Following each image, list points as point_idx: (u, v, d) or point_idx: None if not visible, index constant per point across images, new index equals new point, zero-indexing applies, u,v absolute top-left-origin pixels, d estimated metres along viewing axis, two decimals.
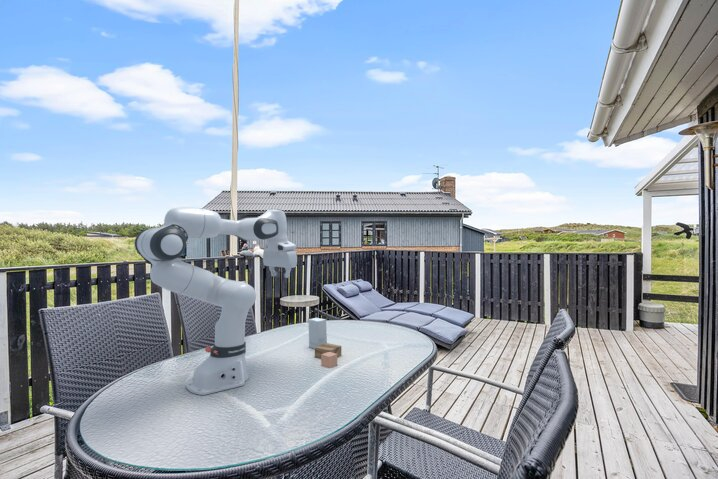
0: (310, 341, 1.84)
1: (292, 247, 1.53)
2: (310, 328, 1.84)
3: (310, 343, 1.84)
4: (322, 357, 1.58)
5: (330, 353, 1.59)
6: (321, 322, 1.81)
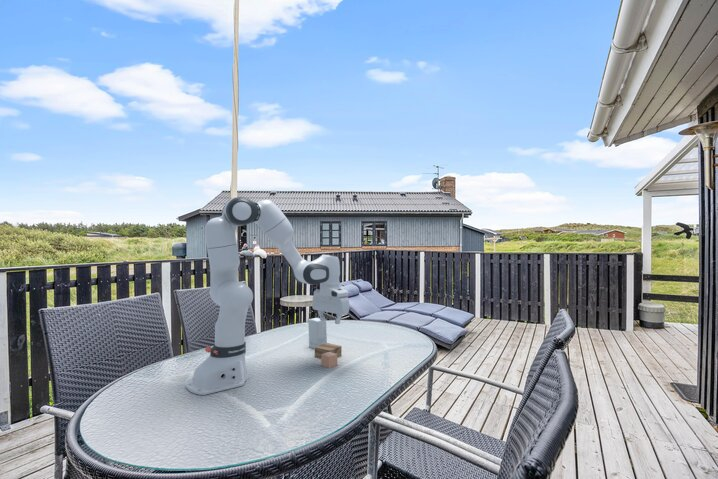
0: (310, 341, 1.84)
1: (345, 294, 1.54)
2: (310, 328, 1.84)
3: (310, 343, 1.84)
4: (322, 357, 1.58)
5: (330, 353, 1.59)
6: (321, 322, 1.81)
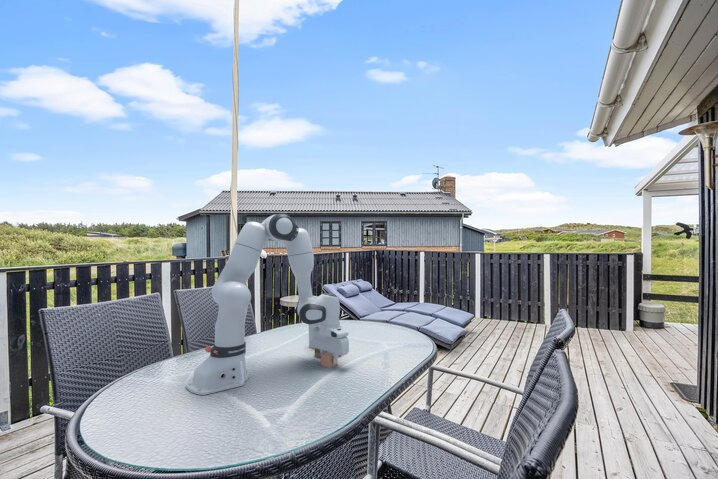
0: (310, 341, 1.84)
1: (345, 334, 1.54)
2: (310, 328, 1.84)
3: (310, 343, 1.84)
4: (322, 357, 1.58)
5: (330, 353, 1.59)
6: None
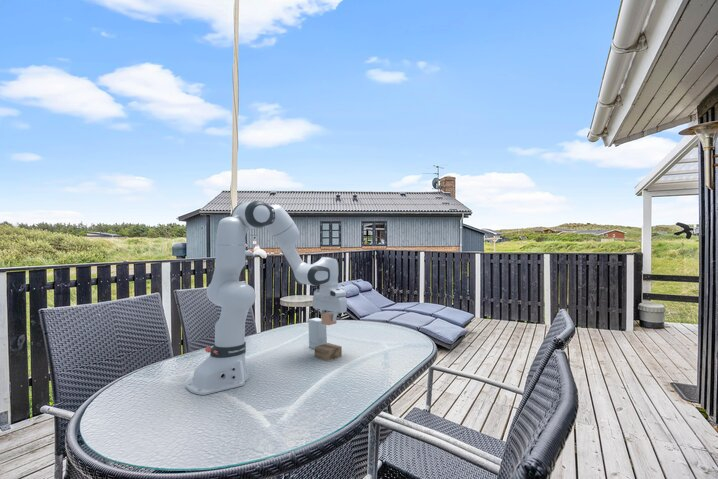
0: (310, 341, 1.84)
1: (343, 293, 1.66)
2: (310, 328, 1.84)
3: (310, 343, 1.84)
4: (322, 315, 1.70)
5: (329, 312, 1.71)
6: None
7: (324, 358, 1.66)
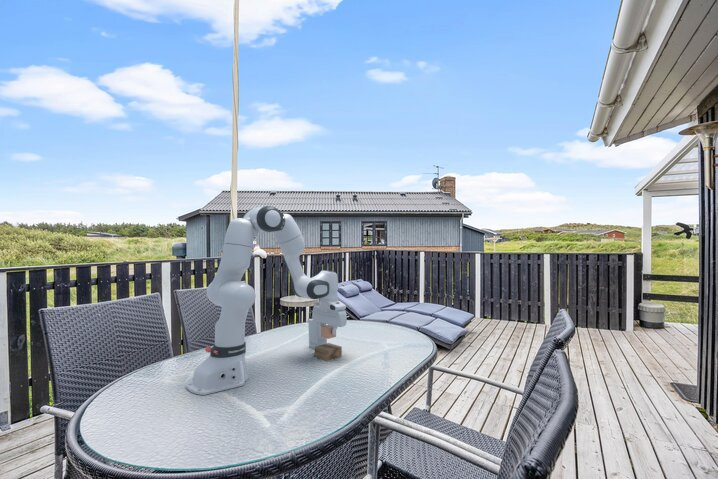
0: (310, 341, 1.84)
1: (343, 307, 1.66)
2: (310, 328, 1.84)
3: (310, 343, 1.84)
4: (322, 329, 1.70)
5: (329, 326, 1.72)
6: None
7: (324, 358, 1.66)
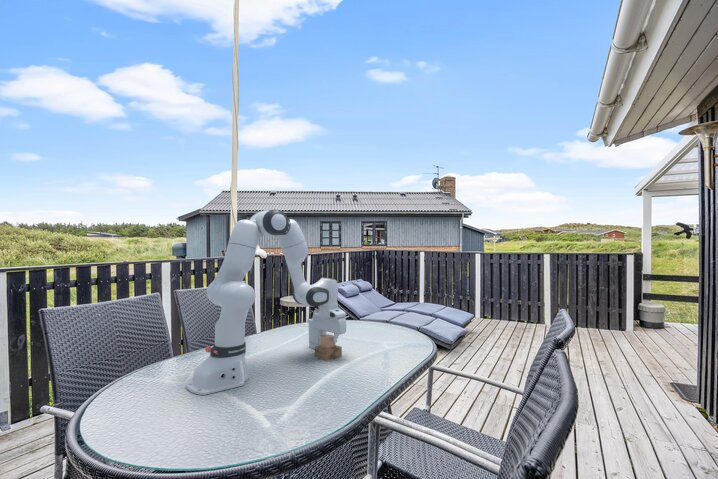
0: (310, 341, 1.84)
1: (343, 315, 1.66)
2: (310, 328, 1.84)
3: (310, 343, 1.84)
4: (321, 339, 1.70)
5: (328, 335, 1.71)
6: None
7: (323, 358, 1.66)
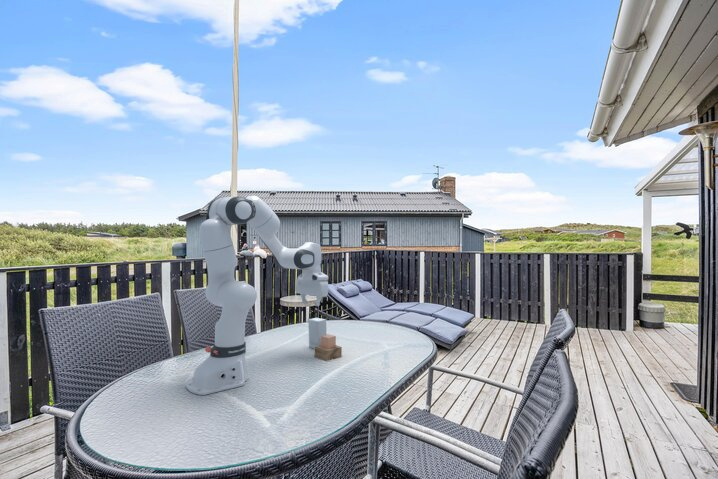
0: (310, 341, 1.84)
1: (325, 278, 1.67)
2: (310, 328, 1.84)
3: (310, 343, 1.84)
4: (321, 339, 1.70)
5: (329, 335, 1.71)
6: (321, 322, 1.81)
7: (323, 358, 1.66)
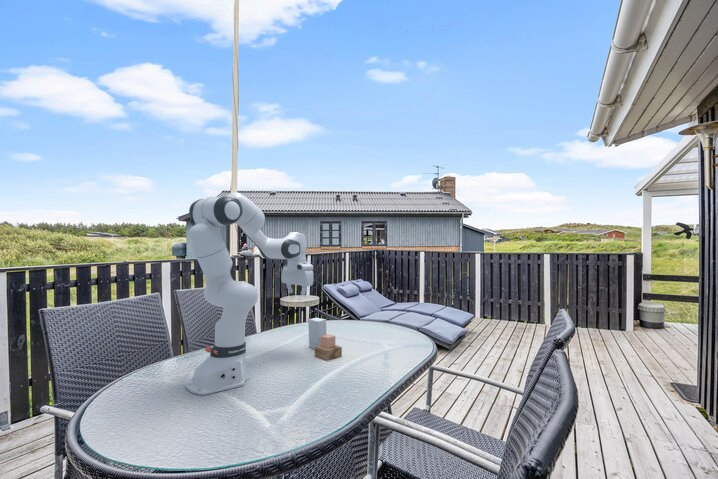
0: (310, 341, 1.84)
1: (310, 267, 1.69)
2: (310, 328, 1.84)
3: (310, 343, 1.84)
4: (321, 339, 1.70)
5: (328, 335, 1.71)
6: (321, 322, 1.81)
7: (323, 358, 1.66)
